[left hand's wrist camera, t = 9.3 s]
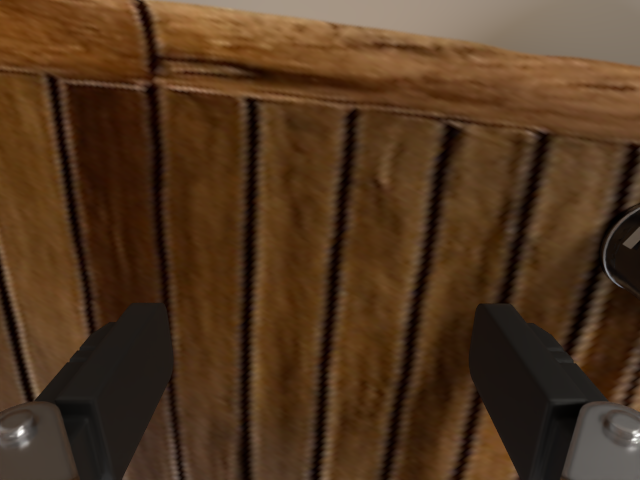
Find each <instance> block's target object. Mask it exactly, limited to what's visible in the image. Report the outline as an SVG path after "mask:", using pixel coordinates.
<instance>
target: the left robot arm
mask: <svg viewBox="0 0 640 480" xmlns="http://www.w3.org/2000/svg"><path fill="white" fill-rule="evenodd" d="M600 262H601V266H602V269H603V271H604V273H605V274H606V276H607V277H608V278H609V279H610V280H611V281H613V282H614V283H615V284H617V285H618V286H620V287H622V288H624V289H625V290H627V291H628V292H629V293H631V294H632V295H634V296H635V297H636V298H637V299H639V300H640V204H638V205H636V206H634V207H632V208H631V209H629V210H628V211H626V212H625V213H623V214H622V215H621V216H620V217H619V218H618V219H617V220H616V221H615V222H614V223H613V224H612V225H611V227H610V228H609V229H608V231H607V233H606V235H605V237H604V239H603V241H602V244H601V249H600ZM469 368H470V374H471V377H472V380H473V382H474V384H475V386H476V388H477V390H478V392H479V394H480V396H481V398H482V401H483V403H484V405H485V407H486V409H487V411H488V413H489V415H490V417H491V419H492V421H493V423H494V425H495V427H496V429H497V431H498V433H499V436H500V438H501V440H502V442H503V444H504V446H505V448H506V450H507V452H508V454H509V456H510V458H511V460H512V462H513V464H514V466H515V469H516V471H517V473H518V475H519V477H520V479H521V480H640V412H638V411H636V410H634V409H632V408H629V407H627V406H624V405H621V404H617V403H613V402H609V401H608V400H607V399H606V398H605V397H604V395H603V394H602V393H601V392H600V391H599V390H598V389H597V387H596V386H595V385H594V384H593V383H592V382H591V380H590V379H589V378H588V377H587V376H586V375H585V373H584V372H583V371H582V370H581V369H580V368H579V366H578V365H577V364H576V363H573V359H572V358H571V357H570V356H569V355H568V354H567V352H564V351H563V348H562V347H561V345H560V344H559V343H558V342H557V341H556V340H555V339H554V337H553V336H552V335H551V334H549V333H548V332H546V331H544V330H543V329H541V328H540V327H538V326H537V325H535V324H534V323H526V322H525V321H524V319H523V318H522V317H521V316H520V314H519V313H518V312H517V311H516V309H515V308H514V307H513V306H512V305H511V304H479V305H478V306H477V308H476V312H475V319H474V325H473V332H472V338H471V345H470V352H469ZM172 369H173V349H172V342H171V336H170V329H169V322H168V316H167V310H166V307H165V305H164V304H163V303H132V304H131V305H130V306H129V307H128V308H127V309H126V311H125V312H124V313H123V314H122V316H121V317H120V318H119V319H118V321H117V322H109V323H108V324H106V325H105V326H103V327H102V328H100V329H99V330H97V331H95V332H94V333H92V334H91V335H90V336H89V337H88V339H87V340H86V341H85V342H84V343H83V344H82V346H81V347H80V350H79V351H77V352H76V353H75V354H74V355H73V356H72V357H71V359H70V362H67V363H66V364H65V366H64V367H63V368H62V369H61V370H60V371H59V373H58V374H57V375H56V376H55V377H54V379H53V380H52V381H51V382H50V383H49V384H48V386H47V387H46V388H45V389H44V390H43V391H42V393H41V394H40V395H39V396H38V397H37V398H36V400H35V401H34V402H27V403H23V404H19V405H16V406H13V407H11V408H8V409H6V410H4V411H2V412H0V480H122V478H123V476H124V473H125V471H126V469H127V467H128V465H129V463H130V461H131V459H132V457H133V455H134V453H135V451H136V448H137V446H138V444H139V442H140V440H141V438H142V436H143V434H144V432H145V430H146V428H147V426H148V423H149V421H150V419H151V417H152V415H153V413H154V411H155V409H156V407H157V405H158V403H159V400H160V398H161V396H162V394H163V392H164V390H165V388H166V386H167V384H168V382H169V380H170V377H171V374H172Z"/></svg>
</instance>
